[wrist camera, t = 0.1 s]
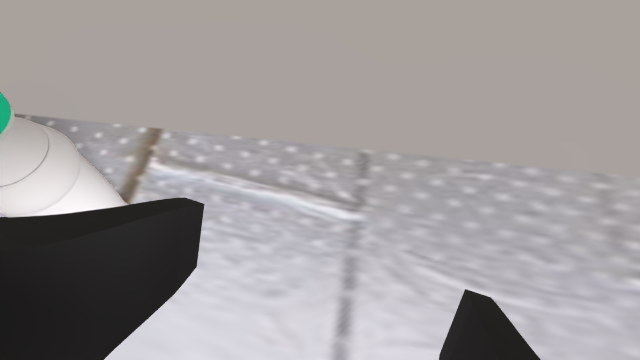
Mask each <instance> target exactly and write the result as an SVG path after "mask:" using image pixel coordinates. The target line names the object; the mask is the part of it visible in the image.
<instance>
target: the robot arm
mask: <svg viewBox="0 0 640 360" xmlns="http://www.w3.org/2000/svg"><path fill="white" fill-rule="evenodd" d="M203 210H204V204H203V203H200V202H197V201H193V200H190V199H187V198H171V199H163V200H156V201H149V202H143V203H137V204H131V205H125V206H118V207H112V208H105V209H97V210H89V211H82V212H74V213H66V214H55V215H42V216H26V217H0V360H104V359H105V358H106V357H107V356H108V355H109V354H110V353H111V352H112V351H113V350H114V349H115V348H116V347H117V346H118V345H119V344H121V343H122V342H123V341H124V340H125V339H126V338H127V337H128V336H129V335H130V334H131V333H133V332H134V331H135V330H136V329H137V328H138V327H139V326H140V325H141V324H142V323H144V322H145V321H146V320H147V319H148V318H149V317H150V316H151V315H152V314H153V313H154V312H156V311H157V310H158V309H159V308H160V307H161V306H162V305H163V304H164V303H165V302H166V301H167V300H168V299H169V298H170V297H172V296H173V295H174V294H175V293H176V291H177V290H178V289H179V288H180V287H181V286H182V284H183V283H184V282H185V281H186V279H187V278H188V277H189V276H190V274H191V273H192V272H193V271H194V269H195V268H196V267H197V259H198V251H199V242H200V234H201V226H202V218H203ZM439 360H540V358H539V357H538V356H537V355H536V354H535V352H534V351H533V350H532V349H531V347H530V346H529V345H528V344H527V342H526V341H525V340H524V339H523V337H522V336H521V335H520V333H519V332H518V331H517V330H516V328H515V327H514V326H513V324H512V323H511V322H510V321H509V319H508V318H507V317H506V315H505V314H504V313H503V312H502V310H501V309H500V308H499V306H498V305H497V304H496V303H495V302H494V301H493V299H492V298H491V297H487V296H484V295H481V294H478V293H475V292H472V291H469V290H466V289H465V291H464V294H463V296H462V299H461V301H460V304H459V306H458V309H457V312H456V314H455V317H454V319H453V322H452V324H451V327H450V329H449V332H448V335H447V337H446V340H445V342H444V345H443V347H442V350H441V352H440V357H439Z"/></svg>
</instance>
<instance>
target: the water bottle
mask: <svg viewBox="0 0 640 360" xmlns="http://www.w3.org/2000/svg"><path fill="white" fill-rule="evenodd" d="M125 205H129V204H127V203H126V202H124V201H123V199H122V198H121V197H120V195H119V194H118V193H117V191H116V190H115V189H114V188H113V187H112V185H111V184H110V183H109V182H108V181H107V180H106V179H105V178H104V177H103V175H102V174H101V173H100V172H99V171H98V170H97V169H96V168H95V167H94V166H93V165H92V164H91V163H90V162H89V161H88V160H86V159H85V158H84V157H83V156H82V155H81V154H79V153H78V151H77V149H76V147H75V145H74V144H73V143H72V142H71V140H70V139H69V138H68V137H66V136H65V135H64V134H62V133H61V132H59V131H57V130H55V129H53V128H50V127H47V126H44V125H40V124H37V123H34V122H32V121H30V120H27V119H24V118H19V117H15V115H14V110H13V108H12V107H11V106H10V104H9V103H8V101H7V99H6V98H5V97H4V96H3V95H2V94H1V93H0V213H2V214H4V215H5V216H7V217H26V216H42V215H55V214H66V213H74V212H82V211H89V210H97V209H105V208H112V207H118V206H125Z"/></svg>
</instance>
